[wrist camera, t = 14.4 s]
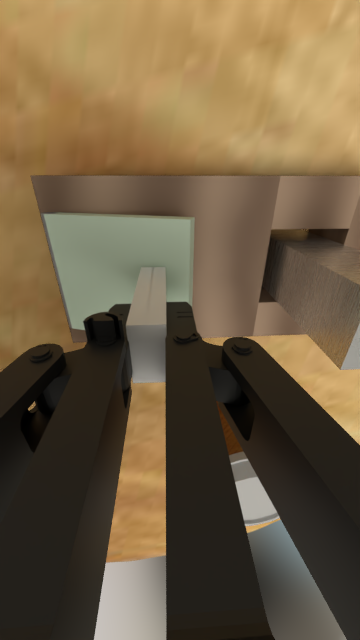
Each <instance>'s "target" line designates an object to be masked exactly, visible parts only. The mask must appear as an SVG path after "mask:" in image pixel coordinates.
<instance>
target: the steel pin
mask: <svg viewBox="0 0 360 640" xmlns="http://www.w3.org/2000/svg"><path fill="white" fill-rule="evenodd" d="M262 286H263V288H264V289H265V290H266V291H267V292H268V293H269V294H270V295H271V296H272V297H273V298H274V299H275V300H276V301H277V303H278V304H279V305H280V306H281V307H282V308H283V309H284V310H285V311H286V312H287V313H288V314H289V315H290V316H291V318H292V319H293V320H294V321H295V322H296V323H297V324H298V325H299V326H300V327H301V328H302V329H303V330H304V331H305V332H306V334H307V335H308V336H309V337H310V338H311V339H312V340H313V341H314V342H315V343H316V344H317V345H318V346H319V347H320V349H321V350H322V351H323V352H324V353H325V354H326V355H327V356H328V357H329V358H330V359H331V360H332V361H333V362H334V364H335V365H336V366H337V367H338V368H339V369H340V370H347V369H360V250H357V249H354V248H351V247H349V246H346V245H343V244H340V243H338V242H335V241H332V240H329V239H327V238H324V237H321V236H318V235H316V234H313V233H310V232H307V231H305V230H302V229H271V234H270V240H269V246H268V252H267V257H266V263H265V269H264V275H263V281H262Z"/></svg>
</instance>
